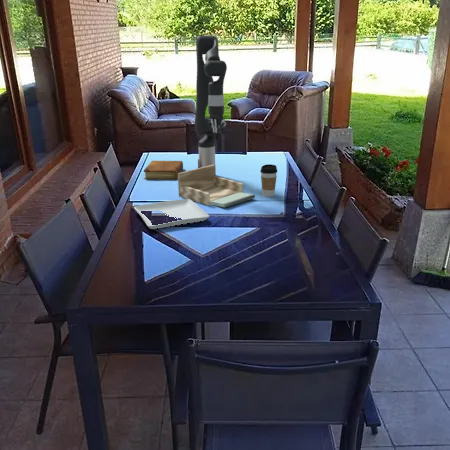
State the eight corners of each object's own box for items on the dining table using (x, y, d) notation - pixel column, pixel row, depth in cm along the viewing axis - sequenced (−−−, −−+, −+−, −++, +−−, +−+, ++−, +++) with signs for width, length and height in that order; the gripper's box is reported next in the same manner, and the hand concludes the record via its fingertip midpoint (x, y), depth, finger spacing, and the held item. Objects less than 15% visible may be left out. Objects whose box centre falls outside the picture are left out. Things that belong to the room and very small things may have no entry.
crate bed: (178, 196, 250) (177, 173, 246) (214, 186, 266) (213, 164, 261) (207, 206, 236) (206, 181, 231) (242, 194, 251) (242, 171, 247)
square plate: (133, 213, 228) (132, 205, 227) (189, 205, 238) (189, 197, 237) (148, 233, 205) (148, 224, 204) (210, 223, 215) (210, 215, 213)
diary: (177, 180, 280) (176, 170, 278) (144, 180, 281) (143, 170, 279) (183, 169, 301) (182, 160, 299) (152, 169, 303) (152, 160, 301)
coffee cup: (279, 194, 251) (279, 165, 246) (273, 198, 244) (274, 169, 239) (263, 192, 255) (264, 163, 249) (257, 196, 248) (257, 167, 242)
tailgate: (210, 201, 236) (224, 204, 229) (240, 192, 249) (254, 194, 242) (210, 204, 237) (225, 207, 230) (240, 195, 250) (254, 197, 243)
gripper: (201, 104, 241) (202, 139, 248) (219, 106, 233) (220, 143, 239) (212, 102, 246) (213, 137, 253) (231, 104, 237) (231, 140, 244)
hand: (216, 140), depth 246 cm, fingers closed
